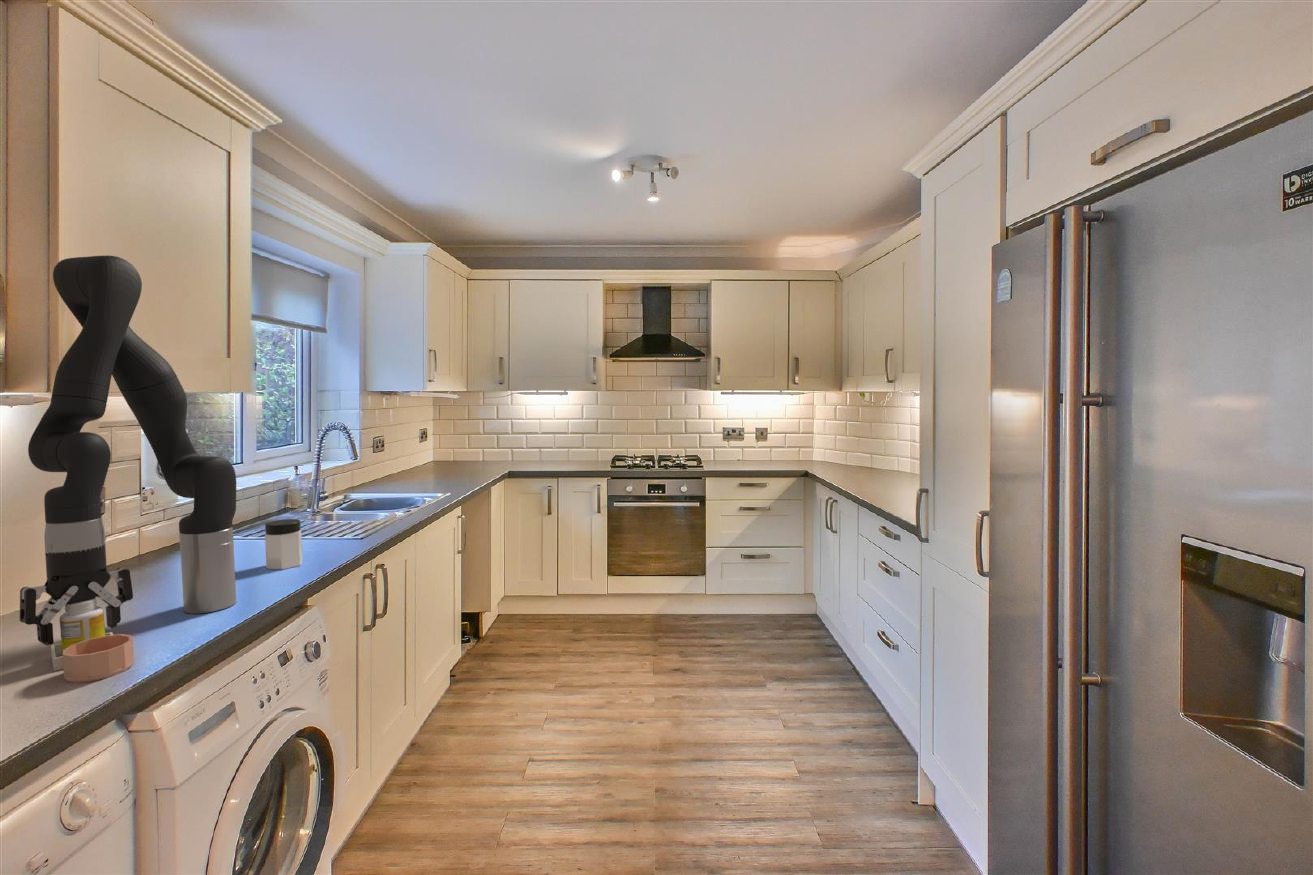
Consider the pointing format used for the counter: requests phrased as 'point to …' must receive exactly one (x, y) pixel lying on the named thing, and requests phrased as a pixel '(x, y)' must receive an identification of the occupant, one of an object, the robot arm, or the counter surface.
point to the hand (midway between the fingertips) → (81, 635)
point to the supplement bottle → (81, 623)
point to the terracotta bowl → (98, 658)
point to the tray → (57, 650)
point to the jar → (283, 544)
